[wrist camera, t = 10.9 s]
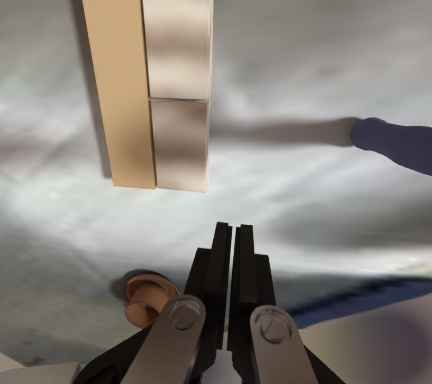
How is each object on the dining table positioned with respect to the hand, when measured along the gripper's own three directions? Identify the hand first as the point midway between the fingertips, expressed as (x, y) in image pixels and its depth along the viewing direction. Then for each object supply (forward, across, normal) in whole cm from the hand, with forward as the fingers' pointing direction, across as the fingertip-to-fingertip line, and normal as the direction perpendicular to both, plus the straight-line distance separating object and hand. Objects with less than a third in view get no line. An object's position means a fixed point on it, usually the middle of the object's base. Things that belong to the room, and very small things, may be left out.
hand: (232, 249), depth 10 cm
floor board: (+23, +12, -6) cm, 27 cm away
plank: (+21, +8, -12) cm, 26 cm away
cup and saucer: (+24, +15, +32) cm, 42 cm away
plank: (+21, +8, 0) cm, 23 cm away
